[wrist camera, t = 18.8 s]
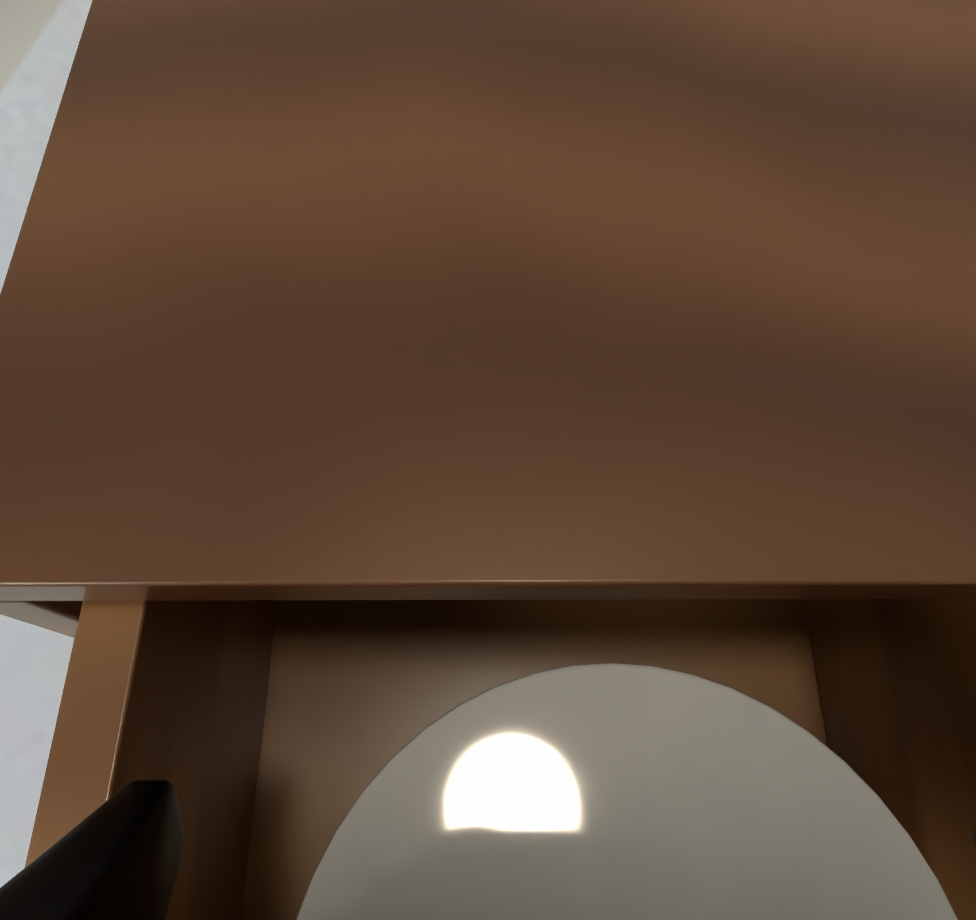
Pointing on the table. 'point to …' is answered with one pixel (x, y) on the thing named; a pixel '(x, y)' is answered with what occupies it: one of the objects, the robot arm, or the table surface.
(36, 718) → the table surface
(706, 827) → the amber jar
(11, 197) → the table surface
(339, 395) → the cabinet
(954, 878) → the drawer
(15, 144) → the table surface
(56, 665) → the table surface
